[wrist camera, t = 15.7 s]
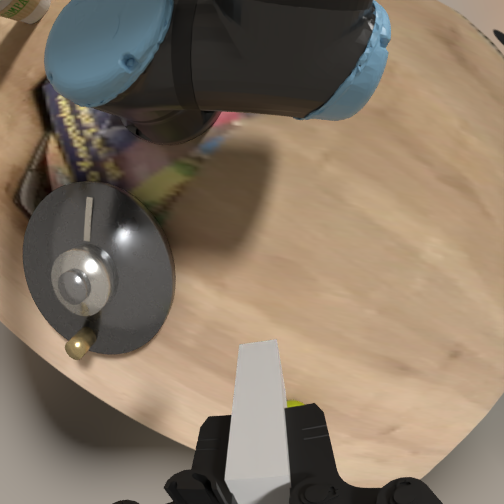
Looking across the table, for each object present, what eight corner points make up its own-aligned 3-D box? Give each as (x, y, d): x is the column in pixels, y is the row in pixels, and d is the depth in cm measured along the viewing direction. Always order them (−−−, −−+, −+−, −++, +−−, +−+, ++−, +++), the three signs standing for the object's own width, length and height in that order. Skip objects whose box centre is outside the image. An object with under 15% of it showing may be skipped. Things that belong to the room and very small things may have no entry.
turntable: (32, 174, 38) (3, 176, 32) (187, 194, 39) (172, 198, 32) (35, 324, 45) (13, 341, 38) (169, 364, 45) (157, 392, 39)
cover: (66, 238, 39) (44, 247, 33) (120, 250, 39) (102, 262, 34) (66, 296, 41) (46, 310, 36) (117, 311, 41) (100, 329, 36)
